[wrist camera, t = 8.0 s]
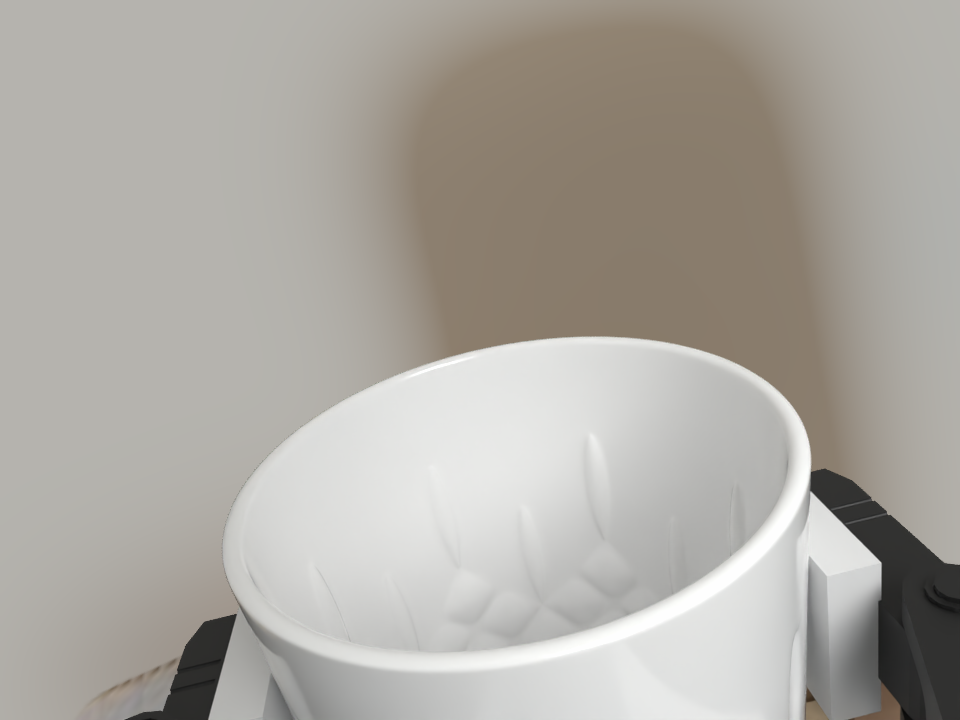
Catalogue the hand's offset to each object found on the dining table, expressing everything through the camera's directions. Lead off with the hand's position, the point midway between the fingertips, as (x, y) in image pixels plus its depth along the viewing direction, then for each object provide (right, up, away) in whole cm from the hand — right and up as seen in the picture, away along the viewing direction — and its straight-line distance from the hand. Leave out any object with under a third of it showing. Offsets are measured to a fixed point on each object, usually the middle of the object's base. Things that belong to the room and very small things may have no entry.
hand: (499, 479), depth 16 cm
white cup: (+2, -8, -2) cm, 8 cm away
